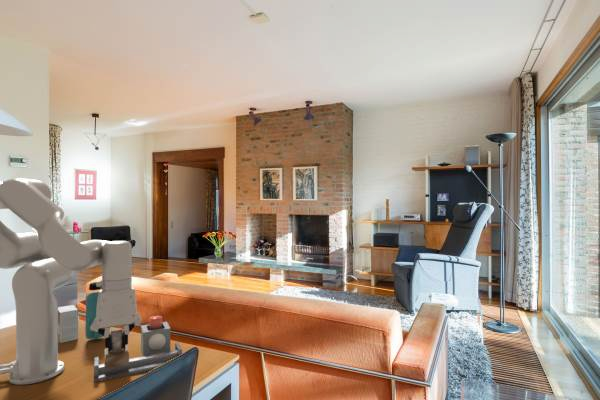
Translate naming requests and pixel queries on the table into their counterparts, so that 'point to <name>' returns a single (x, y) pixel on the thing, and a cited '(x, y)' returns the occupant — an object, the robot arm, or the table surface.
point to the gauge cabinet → (155, 339)
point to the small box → (67, 323)
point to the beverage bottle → (91, 312)
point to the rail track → (135, 365)
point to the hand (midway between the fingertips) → (116, 348)
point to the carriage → (116, 351)
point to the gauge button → (155, 322)
